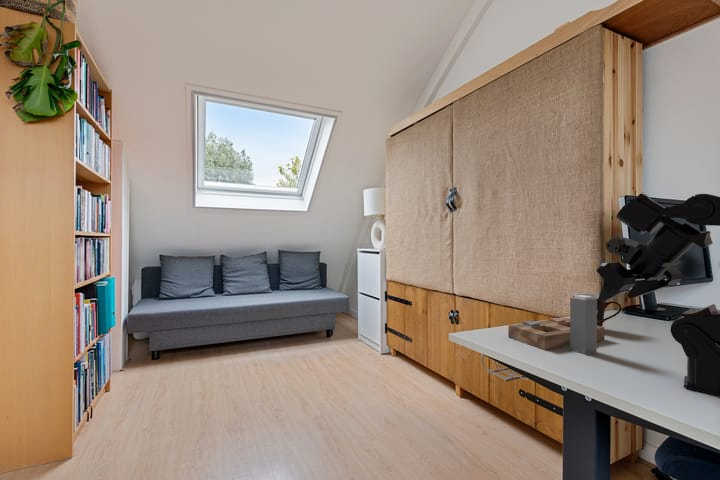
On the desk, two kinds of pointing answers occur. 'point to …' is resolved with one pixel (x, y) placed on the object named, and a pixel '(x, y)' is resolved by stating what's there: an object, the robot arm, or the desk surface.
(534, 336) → the socket board
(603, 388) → the desk surface
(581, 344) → the plug
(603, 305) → the coffee mug
